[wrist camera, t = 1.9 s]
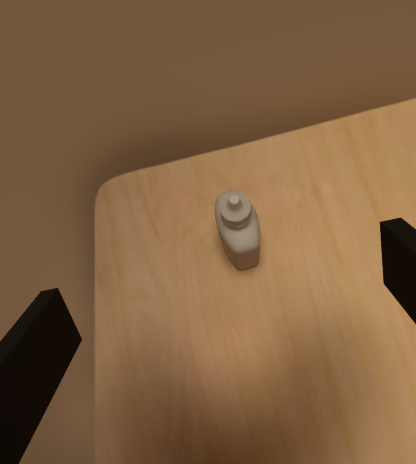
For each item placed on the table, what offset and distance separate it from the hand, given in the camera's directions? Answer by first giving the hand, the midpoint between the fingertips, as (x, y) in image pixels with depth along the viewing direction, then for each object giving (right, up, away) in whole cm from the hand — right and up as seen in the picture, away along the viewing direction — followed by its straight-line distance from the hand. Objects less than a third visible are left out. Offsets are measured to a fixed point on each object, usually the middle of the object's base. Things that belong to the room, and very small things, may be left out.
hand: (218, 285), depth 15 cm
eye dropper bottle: (+3, +1, +23) cm, 23 cm away
